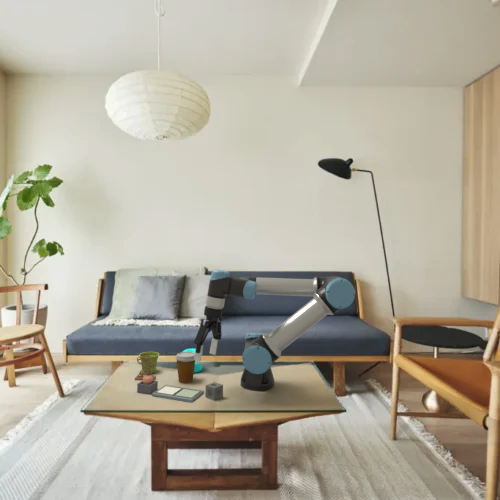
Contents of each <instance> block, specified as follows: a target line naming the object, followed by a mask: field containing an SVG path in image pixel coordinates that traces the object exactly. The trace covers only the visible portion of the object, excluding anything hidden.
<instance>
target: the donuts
mask: <svg viewBox="0 0 500 500" xmlns="http://www.w3.org/2000/svg"><path fill="white" fill-rule="evenodd" d="M195 350H196V348H193V347H192V348H186V349H184V350H182V352H193V353H195ZM203 354H204V353H203V351H202V355H203ZM202 370H203V365H202V364H201V362H199V361H195V368H194V374H197V373H199V372H201V371H202Z"/></svg>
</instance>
